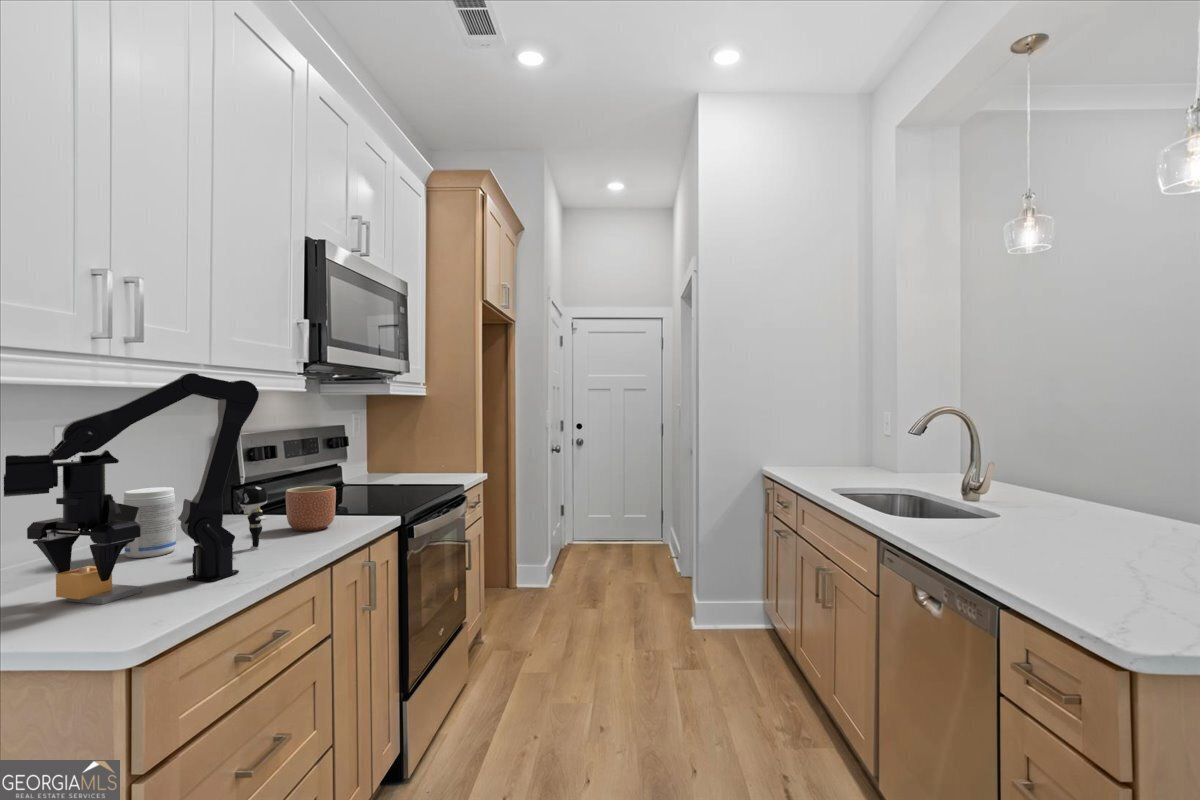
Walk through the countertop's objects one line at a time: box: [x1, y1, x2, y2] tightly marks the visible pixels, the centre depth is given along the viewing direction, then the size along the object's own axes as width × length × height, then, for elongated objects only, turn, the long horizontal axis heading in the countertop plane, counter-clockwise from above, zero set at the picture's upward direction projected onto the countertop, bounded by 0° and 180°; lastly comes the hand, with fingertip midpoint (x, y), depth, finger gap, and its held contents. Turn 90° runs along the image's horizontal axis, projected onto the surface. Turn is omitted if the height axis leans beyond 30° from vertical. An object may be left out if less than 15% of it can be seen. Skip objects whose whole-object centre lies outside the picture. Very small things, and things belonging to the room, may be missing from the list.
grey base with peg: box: [66, 566, 143, 605], centre depth 109 cm, size 8×7×6 cm
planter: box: [285, 485, 337, 532], centre depth 167 cm, size 12×12×11 cm
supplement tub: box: [122, 486, 177, 559], centre depth 140 cm, size 10×10×15 cm
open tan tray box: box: [55, 565, 113, 599], centre depth 108 cm, size 5×5×4 cm
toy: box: [239, 484, 269, 551], centre depth 144 cm, size 13×6×15 cm, turn 42°
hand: (84, 579), depth 108 cm, fingers open, 9 cm apart
